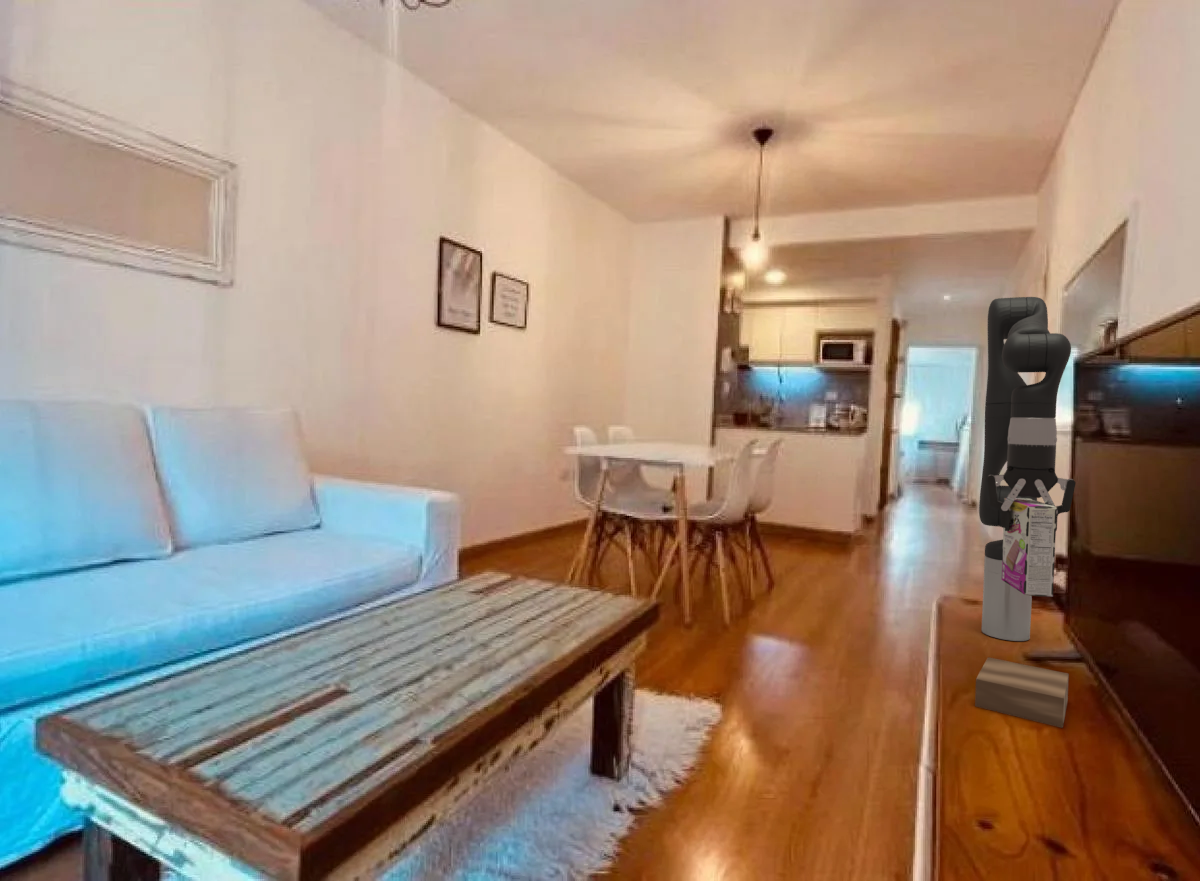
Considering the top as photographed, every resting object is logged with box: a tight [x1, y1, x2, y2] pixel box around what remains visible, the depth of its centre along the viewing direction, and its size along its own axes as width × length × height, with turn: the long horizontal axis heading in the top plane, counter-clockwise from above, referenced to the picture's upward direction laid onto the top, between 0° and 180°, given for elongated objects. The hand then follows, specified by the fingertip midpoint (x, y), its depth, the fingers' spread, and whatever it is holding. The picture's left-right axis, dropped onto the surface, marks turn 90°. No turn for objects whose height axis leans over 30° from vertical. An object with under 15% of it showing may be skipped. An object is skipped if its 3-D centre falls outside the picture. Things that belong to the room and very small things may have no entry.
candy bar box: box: [1001, 498, 1057, 598], centre depth 124 cm, size 11×5×16 cm, turn 168°
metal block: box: [974, 656, 1070, 729], centre depth 112 cm, size 13×12×5 cm
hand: (1027, 532), depth 124 cm, fingers closed on candy bar box, 6 cm apart
